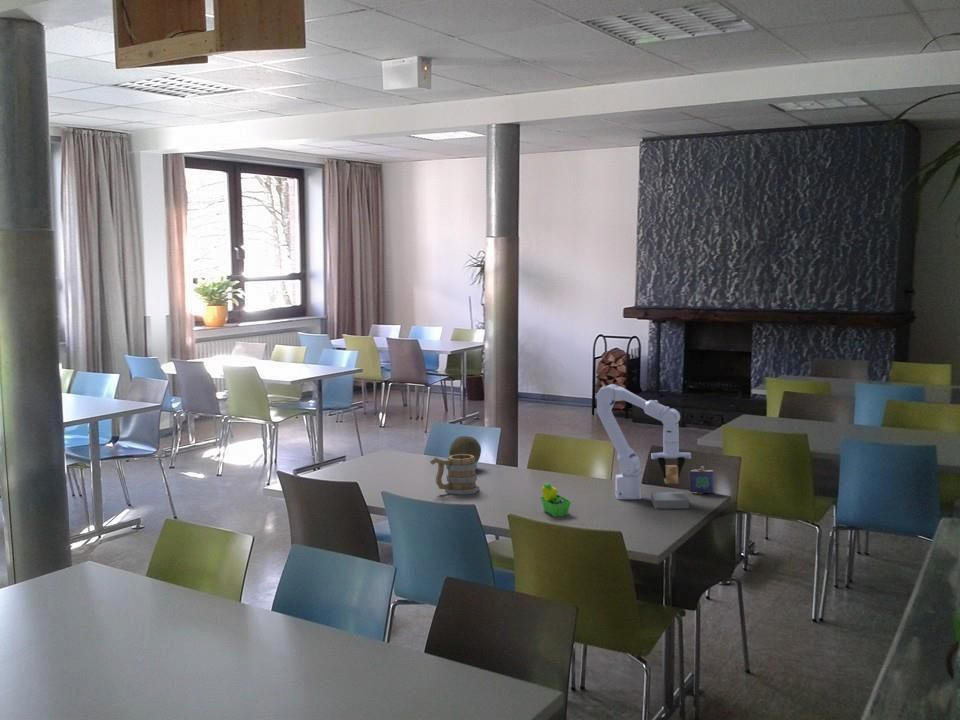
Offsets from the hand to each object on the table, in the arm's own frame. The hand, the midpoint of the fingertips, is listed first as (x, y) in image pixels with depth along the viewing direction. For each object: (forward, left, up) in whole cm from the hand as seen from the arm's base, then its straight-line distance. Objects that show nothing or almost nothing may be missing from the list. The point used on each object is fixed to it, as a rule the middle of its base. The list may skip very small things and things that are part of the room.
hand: (671, 477), depth 330 cm
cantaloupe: (-81, +58, -9) cm, 100 cm away
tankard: (-83, +17, -9) cm, 86 cm away
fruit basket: (-44, -16, -9) cm, 48 cm away
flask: (+14, +11, -9) cm, 20 cm away
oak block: (0, 0, -2) cm, 2 cm away
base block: (-1, -5, -9) cm, 10 cm away
